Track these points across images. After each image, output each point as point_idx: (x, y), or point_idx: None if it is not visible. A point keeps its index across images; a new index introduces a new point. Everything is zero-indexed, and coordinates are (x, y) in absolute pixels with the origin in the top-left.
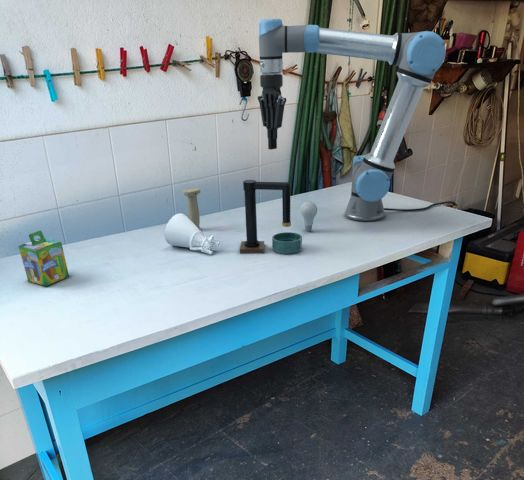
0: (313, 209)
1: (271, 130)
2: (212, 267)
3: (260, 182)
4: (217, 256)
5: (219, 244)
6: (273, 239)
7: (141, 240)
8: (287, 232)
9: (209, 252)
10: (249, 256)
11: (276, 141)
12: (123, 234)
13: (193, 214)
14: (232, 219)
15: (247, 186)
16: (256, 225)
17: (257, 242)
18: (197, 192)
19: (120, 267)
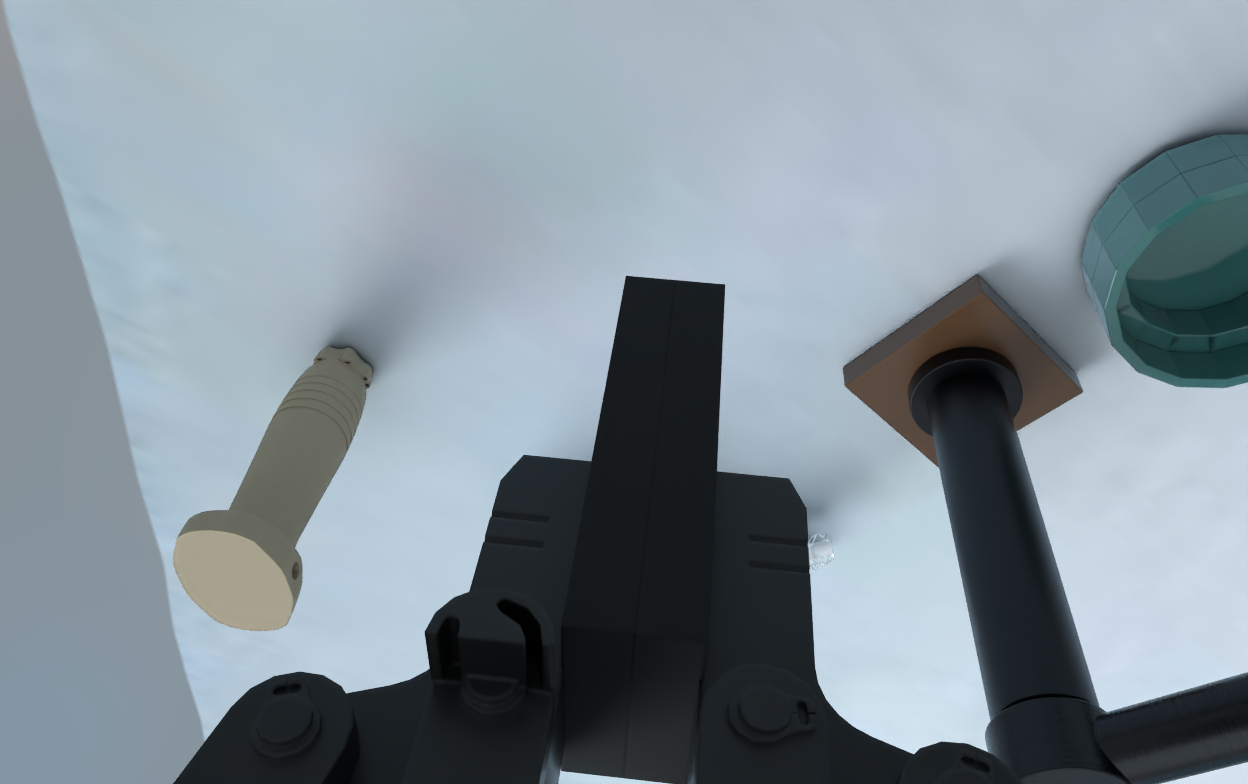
0: None
1: (689, 744)
2: (955, 623)
3: (1188, 776)
4: (860, 539)
5: (830, 541)
6: (1159, 379)
7: (343, 610)
8: (1179, 216)
9: (810, 562)
10: (1027, 449)
11: (718, 389)
12: (191, 612)
13: (338, 467)
14: (262, 27)
15: None
16: (1029, 475)
17: (1004, 385)
18: (289, 561)
19: (620, 778)
